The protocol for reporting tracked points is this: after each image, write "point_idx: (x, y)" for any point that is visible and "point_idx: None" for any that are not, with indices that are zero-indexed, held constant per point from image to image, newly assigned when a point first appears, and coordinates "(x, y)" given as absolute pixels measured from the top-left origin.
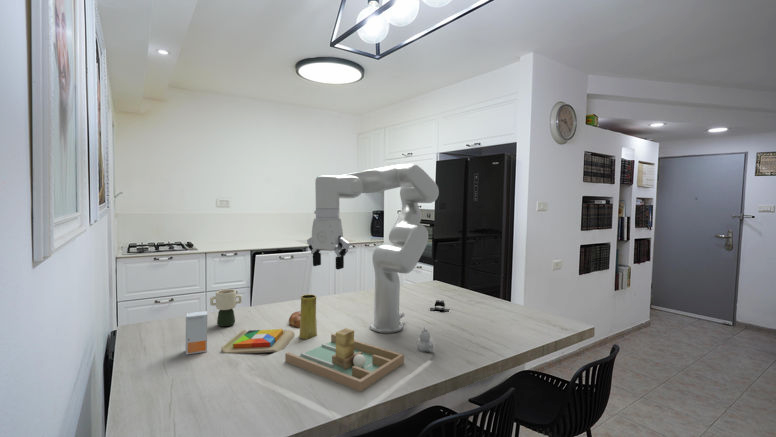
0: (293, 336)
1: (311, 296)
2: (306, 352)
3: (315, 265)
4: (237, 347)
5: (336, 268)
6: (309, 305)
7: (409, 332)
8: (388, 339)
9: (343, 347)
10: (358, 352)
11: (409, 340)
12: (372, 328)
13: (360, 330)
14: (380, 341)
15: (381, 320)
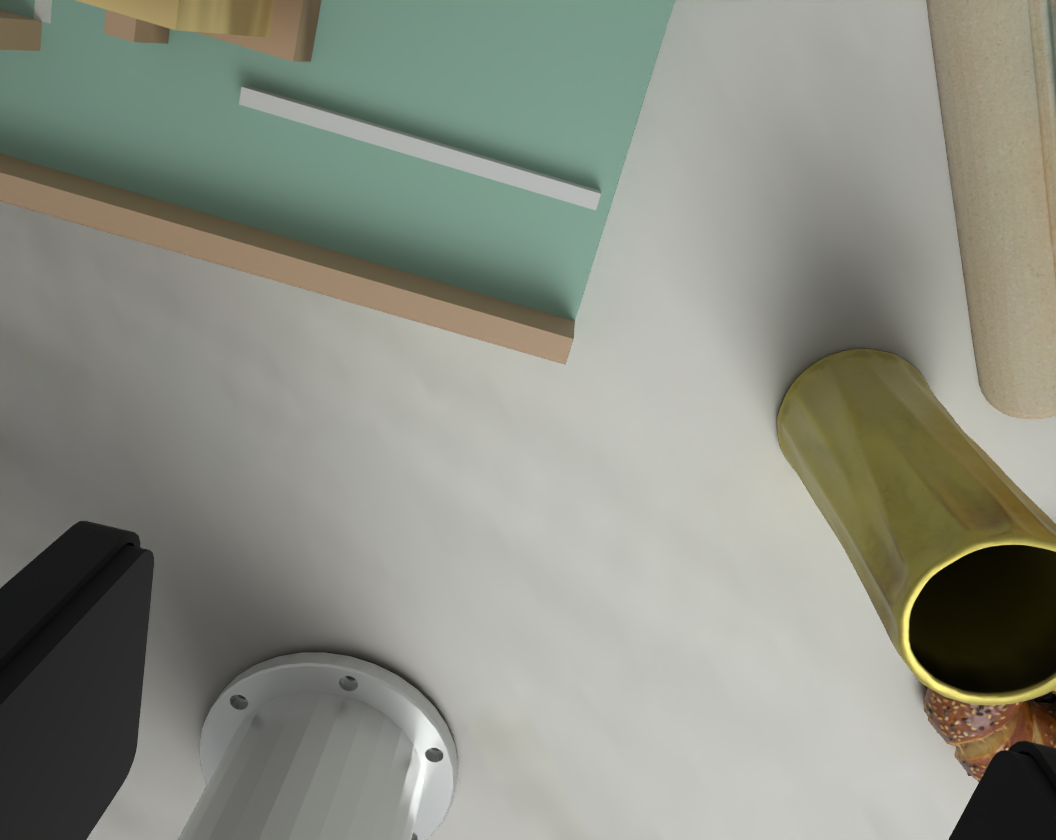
0: (977, 360)
1: (984, 683)
2: (666, 15)
3: (994, 769)
4: None
5: (104, 531)
6: (918, 509)
7: (141, 719)
8: (215, 559)
9: None
10: (128, 19)
11: None
12: (399, 685)
13: (491, 653)
14: (250, 507)
15: (306, 737)
